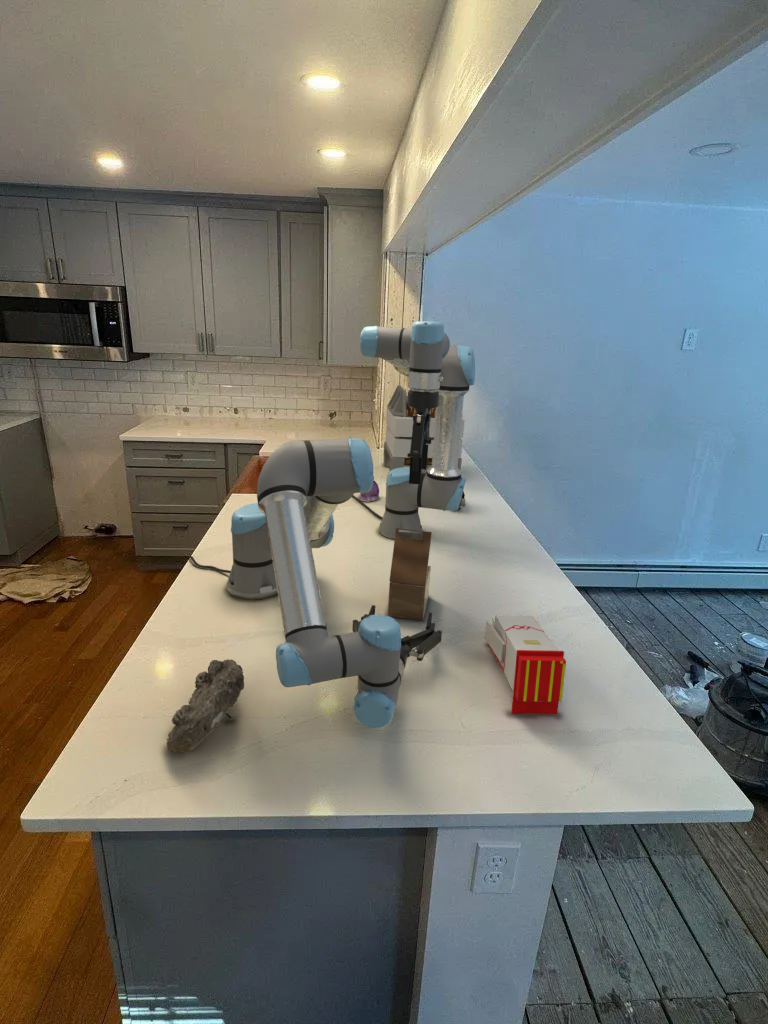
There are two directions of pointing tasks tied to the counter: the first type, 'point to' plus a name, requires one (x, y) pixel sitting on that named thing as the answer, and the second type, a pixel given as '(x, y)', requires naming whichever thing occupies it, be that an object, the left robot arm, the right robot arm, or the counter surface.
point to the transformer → (406, 432)
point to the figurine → (370, 493)
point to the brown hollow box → (408, 599)
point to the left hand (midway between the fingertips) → (401, 613)
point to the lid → (410, 557)
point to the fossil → (206, 705)
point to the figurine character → (462, 501)
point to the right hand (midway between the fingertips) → (418, 476)
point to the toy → (527, 663)
